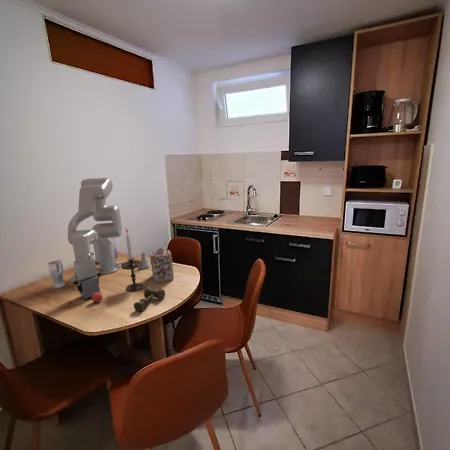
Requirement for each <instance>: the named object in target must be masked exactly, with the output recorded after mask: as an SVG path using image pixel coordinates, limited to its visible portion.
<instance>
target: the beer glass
mask: <svg viewBox="0 0 450 450" xmlns="http://www.w3.org/2000/svg"><path fill="white" fill-rule="evenodd" d="M47 266H48V267H47V268H48V272H49V275H50V277H51V279H52V282H53V283H52V284H53V289H55V290H56V289H57V290H59V289H62V288H65V287H66V283H65V280H64V279H65V278H64V266H63V263H62V260H60V259H57V260H52V261H50V262H48V263H47Z"/></svg>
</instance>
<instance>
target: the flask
mask: <svg viewBox="0 0 450 450" xmlns="http://www.w3.org/2000/svg"><path fill="white" fill-rule="evenodd" d="M146 254H147V253H146V252H140V255H141V257H140V259H141V260H140V261H141V262H142V265H141V266H140V267H138V268H139V270H145V269H146V268H147V269H149V268H150V267H151V264H150V263H149V261H148V259H147V256H146Z"/></svg>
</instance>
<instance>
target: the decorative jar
mask: <svg viewBox="0 0 450 450" xmlns="http://www.w3.org/2000/svg"><path fill="white" fill-rule="evenodd" d="M149 258H150V267H151V272H152V277H153V278H152V279H153V283H154V284H155V282H156V283H161V281H162V282H167V280H168V281H172V279H173V280H174V279H175V278H174V267H173V266H174V265H173V259H172V258H173V257H172V253H171V251H170V250H168V249H165V248H164V247H163V248H162V247H160V248H156V249H155V250H154V251H152V252H151V253H149Z"/></svg>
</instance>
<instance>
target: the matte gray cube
mask: <svg viewBox="0 0 450 450" xmlns="http://www.w3.org/2000/svg"><path fill="white" fill-rule="evenodd" d="M80 282H81V283H80V285H81V287H82V292H80V291H79V295H80V296H82V297H83V298H84V299H87V298H91V297H92V295H93V294H94V293H96V292H99V293H101V289H100V282H99V283H98V278H97V277H96V276H95V277H94V276H93V277H90V278H87V279H84V280H82V281H80Z"/></svg>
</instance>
